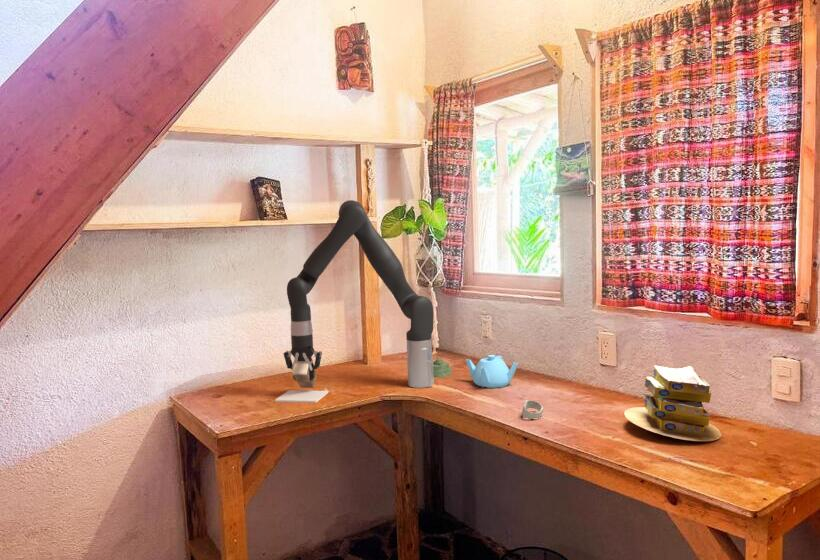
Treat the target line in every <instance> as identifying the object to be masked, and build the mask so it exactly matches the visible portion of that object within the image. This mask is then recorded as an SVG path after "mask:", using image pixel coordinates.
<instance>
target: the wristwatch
mask: <svg viewBox="0 0 820 560" xmlns="http://www.w3.org/2000/svg"><path fill="white" fill-rule="evenodd" d="M523 403H524V404H523V407H522V410H521V411H522V412H521V416H522V415H523V416H522V418H524V419H526V418H528V419H527V420H529V419H534V418H539V417H540V416H541V415H543V413H544V412H543V411H544V407H543V405H542V404H541V403H540V402H538V401H535V400H532V399H528V398H527V399H526V400H525V401H524V402H523ZM527 409H528V410H527ZM529 409H534V410H537V412H531V411H530V410H529ZM541 417H542V416H541ZM541 417H540V418H541ZM540 418H539V419H540Z"/></svg>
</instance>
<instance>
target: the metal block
mask: <svg viewBox="0 0 820 560" xmlns="http://www.w3.org/2000/svg"><path fill="white" fill-rule="evenodd" d="M291 371H292V377H293V376H294V377H295V379H296V382H297V384H298V386H299V387H300V389H301V388H302V389H304V388H305V389H306V388H307V389H309V388H310V389H314V387H315V385H316V379H317V374H316V373H315V378H314V379H313V380H312V381H310V380H309V371H310V370H309V365H308V364H306V361H297V363H296V364H294V368H293V370H291Z"/></svg>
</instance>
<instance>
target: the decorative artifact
mask: <svg viewBox="0 0 820 560" xmlns="http://www.w3.org/2000/svg"><path fill="white" fill-rule="evenodd" d="M433 367H434V378H447V377H450V376H452V367H451V366H450V363H449V362H444V360H443V359H441V358H440V357H439V356H438V357H437V358H436V359H435V360H433ZM446 376H447V377H446Z"/></svg>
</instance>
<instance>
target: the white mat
mask: <svg viewBox="0 0 820 560" xmlns="http://www.w3.org/2000/svg"><path fill="white" fill-rule="evenodd" d="M328 393H329V390H310V389H309V390H306V389H305V390H304V389H303V390H301V389H300V390H299V389H298V390H297V389H289V390H287V391H286V392H284V393H283V394H281V395H279V396H278V397H276V398H275V399H274V402H275V403H309V404H312V403H313V404H315V403H317V402H319V401H320V400H321V399H322V398H324V397H325V396H326V395H327V394H328Z"/></svg>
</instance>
